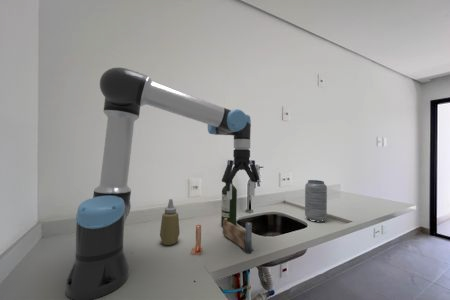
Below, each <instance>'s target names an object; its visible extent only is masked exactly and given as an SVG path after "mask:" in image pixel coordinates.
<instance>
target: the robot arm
mask: <svg viewBox="0 0 450 300" xmlns="http://www.w3.org/2000/svg"><path fill="white" fill-rule="evenodd" d="M99 89H100V91H101V93H102V95H103V96H104V103H103V104H104V105H103V113H104V115H105V116H106V117H107V121H106V130H105V131H106V132H105V139H104V146H103V147H104V148H103V155H102V165H101V173H100V181H99V185H98V186H97V187H95V188H94V189H93V197H92V198H87V199H85V200H84V201H83V202H80V204H79V205H78V208H77V212H76V216H75V220H76V229H75V230H76V231H75V232H76V234H75V235H76V236H75V259H74V260H75V261H74V262H73V265H72V268H71V270H70V273H69V275H68V277H67V280H66V284H65V294H66V296H67V297H68V298H69V299H71V300H94V299H99V298H100V297H103V296H107V295H108V294H110V293H113V292H114V291H116V290H118V288H121V287H122V286H123V284H125V283H126V281H128V278H129V273H130V269H129V268H130V267H129V263H128V260H127V258H126V255H125V251H124V236H125V235H124V234H125V233H124V231H125V223H126V221H127V218H128V216H129V213H130V212H131V194H132V189H131V188H130V186H129V185H128V180H129V179H128V178H129V173H130V171H129V170H130V164H131V163H130V162H131V153H132V143H133V134H134V126H135V122H136V121H137V120H138V119H140V113H141V112H140V111H141V107H143V106H145V105H147V106H151V107H154V108H157V109H159V110H163V111H166V112H169V113H172V114H176V115H178V116H181V117H183V118H184V117H185V118H188V119H191V120H194V121H197V122H199V123H203V124H205V125H207V132H208V134H210V135H214V136H218V135H219V136H233V151H232V152H233V155H232V156H233V160H232V159H231V160H230V159H228V160H227V165H226V168H225V171H224V174H223V176H222V179H221V182H222V183H225V185H226V191H227V198H228V199H232V184H233V183H232V184H230V183H231V181H232V182H233V180H234V178H235V176H236V175H237V173H238V172H239V171H245V172H246V174H247V176H248V178H249V180H250V181H249V196H251V197H256V196H255V195H256V194H255V191H256V190H255V189H256V188H257V187H256V183H257V182H258V181H259V180H260V177H259V173H258V171H257V167H256V161H255V160H252V159H250V158H251V150H250V149H251V129H252V128H251V127H252V123H251V116H250V115H249V114H246V113H245V111H243V110H242V109H228V108H225V107H223V106H220V105H217V104H215V103H212V102H210V101H206V100H203V99H201V98H198V97H195V96H192V95H189V94H188V93H185V92H182V91H179V90H176V89H173V88H171V87H169V86H167V85H166V86H165V85H164V84H160V83H158V82H155V81H153V80H152V79H151V77H150V76H149V75H145V74H144V73H140V72H138V71H134V70H132V69H128V68H126V67H112V68H109V69H107V70H106V71H104V72H103V73H102V74H101V76H100V79H99ZM231 169H232V171H231ZM230 172H231V173H230Z"/></svg>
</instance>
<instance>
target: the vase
mask: <svg viewBox="0 0 450 300" xmlns="http://www.w3.org/2000/svg"><path fill="white" fill-rule="evenodd" d="M327 187H328V186H327V185H326V183H325V181H324V180H317V179H308V180H307V182H306V183H305V186H304V189H305V190H304V216H305V218H307V220H308V219H311V220H315V221H322V220H324V221H326V220H327V217H328V215H327V214H328V212H327V210H328V209H327V208H328V204H327V203H328V198H327V197H328V188H327Z"/></svg>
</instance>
